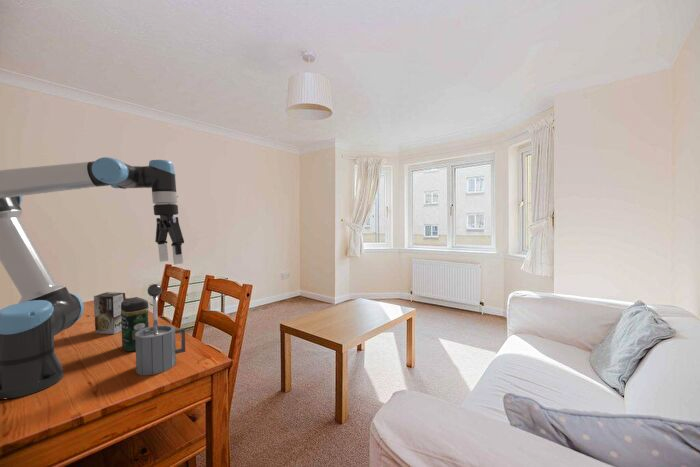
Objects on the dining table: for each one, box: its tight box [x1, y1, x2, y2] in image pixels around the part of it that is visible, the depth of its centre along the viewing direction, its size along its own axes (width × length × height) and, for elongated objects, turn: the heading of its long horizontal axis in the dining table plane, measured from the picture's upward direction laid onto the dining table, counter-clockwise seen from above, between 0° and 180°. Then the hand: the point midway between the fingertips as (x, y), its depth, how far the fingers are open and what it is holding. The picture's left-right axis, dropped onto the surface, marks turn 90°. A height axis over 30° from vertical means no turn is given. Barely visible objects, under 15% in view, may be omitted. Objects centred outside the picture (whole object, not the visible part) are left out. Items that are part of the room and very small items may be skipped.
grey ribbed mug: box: [135, 324, 186, 376], centre depth 99 cm, size 14×11×12 cm
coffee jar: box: [121, 296, 150, 352], centre depth 112 cm, size 10×8×19 cm
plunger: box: [141, 283, 169, 336], centre depth 97 cm, size 8×8×17 cm
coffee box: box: [93, 291, 126, 335], centre depth 128 cm, size 9×6×16 cm
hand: (171, 262), depth 109 cm, fingers open, 13 cm apart
